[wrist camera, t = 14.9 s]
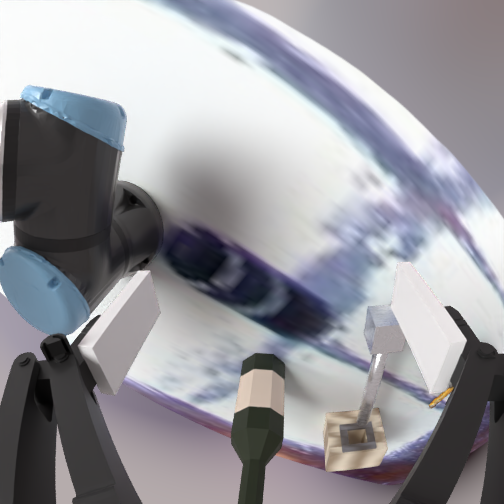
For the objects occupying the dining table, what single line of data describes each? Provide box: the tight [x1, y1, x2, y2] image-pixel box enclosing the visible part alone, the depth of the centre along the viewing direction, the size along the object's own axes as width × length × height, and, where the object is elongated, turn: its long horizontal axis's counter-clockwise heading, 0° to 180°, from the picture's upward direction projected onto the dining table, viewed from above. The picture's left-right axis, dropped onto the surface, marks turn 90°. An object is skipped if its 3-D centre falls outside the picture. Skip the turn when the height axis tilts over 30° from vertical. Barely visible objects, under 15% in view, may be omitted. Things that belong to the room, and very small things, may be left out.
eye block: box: [323, 408, 388, 472], centre depth 56 cm, size 12×9×12 cm
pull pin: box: [356, 305, 406, 426], centre depth 46 cm, size 5×26×5 cm, turn 4°
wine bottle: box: [231, 353, 285, 504], centre depth 42 cm, size 8×8×30 cm
